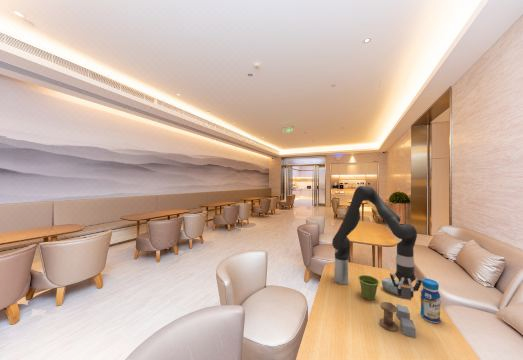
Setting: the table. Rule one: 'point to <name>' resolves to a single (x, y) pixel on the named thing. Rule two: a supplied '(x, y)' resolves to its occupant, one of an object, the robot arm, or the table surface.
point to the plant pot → (368, 286)
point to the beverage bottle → (430, 301)
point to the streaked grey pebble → (389, 285)
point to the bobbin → (388, 316)
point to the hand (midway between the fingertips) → (405, 296)
